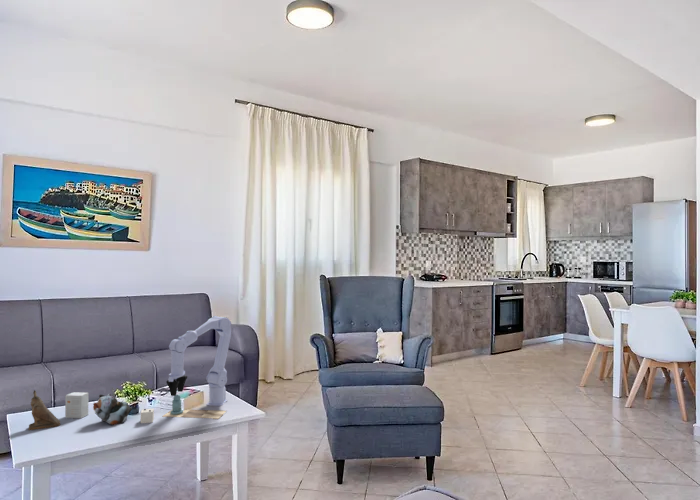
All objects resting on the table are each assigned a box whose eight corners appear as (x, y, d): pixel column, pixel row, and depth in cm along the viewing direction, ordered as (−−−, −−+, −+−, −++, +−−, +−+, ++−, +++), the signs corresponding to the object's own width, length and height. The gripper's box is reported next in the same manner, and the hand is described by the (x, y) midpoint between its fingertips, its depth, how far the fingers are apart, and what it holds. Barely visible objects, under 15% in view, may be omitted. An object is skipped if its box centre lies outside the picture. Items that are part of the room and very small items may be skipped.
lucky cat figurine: (121, 426, 220) (104, 400, 217) (98, 435, 222) (81, 409, 219) (137, 406, 235) (121, 382, 231) (115, 415, 237) (100, 391, 233)
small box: (88, 415, 236) (89, 392, 236) (81, 418, 230) (81, 395, 231) (72, 414, 237) (73, 391, 237) (64, 418, 231) (65, 395, 231)
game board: (173, 409, 245) (173, 408, 245) (227, 411, 243) (227, 410, 243) (161, 417, 233) (161, 416, 233) (218, 419, 231) (218, 418, 231)
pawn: (173, 411, 242) (173, 393, 242) (184, 411, 242) (185, 393, 242) (168, 414, 236) (168, 396, 237) (179, 414, 236) (180, 396, 236)
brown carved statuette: (29, 436, 214) (19, 396, 213) (30, 432, 219) (20, 392, 217) (60, 426, 219) (51, 387, 218) (61, 422, 224) (52, 384, 223)
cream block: (142, 420, 228) (142, 408, 229) (153, 419, 230) (154, 407, 230) (140, 423, 224) (140, 411, 224) (152, 423, 225) (152, 410, 225)
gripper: (175, 361, 247) (175, 389, 247) (162, 367, 233) (161, 397, 232) (189, 361, 246) (189, 389, 246) (177, 368, 232) (176, 397, 232)
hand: (176, 393), depth 239 cm, fingers open, 7 cm apart
